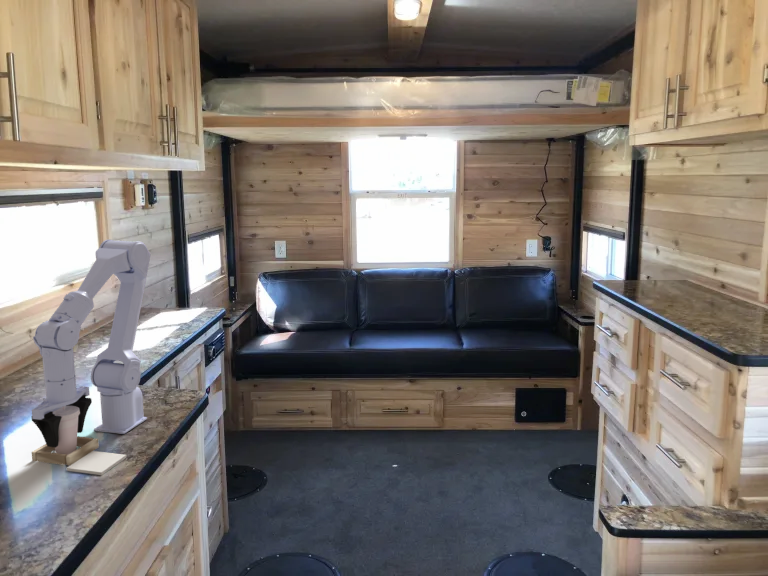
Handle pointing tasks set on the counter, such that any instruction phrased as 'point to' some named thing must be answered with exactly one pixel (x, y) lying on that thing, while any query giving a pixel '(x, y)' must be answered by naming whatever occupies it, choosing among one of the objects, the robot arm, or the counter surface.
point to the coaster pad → (96, 462)
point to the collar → (47, 456)
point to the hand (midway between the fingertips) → (65, 438)
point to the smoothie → (67, 429)
